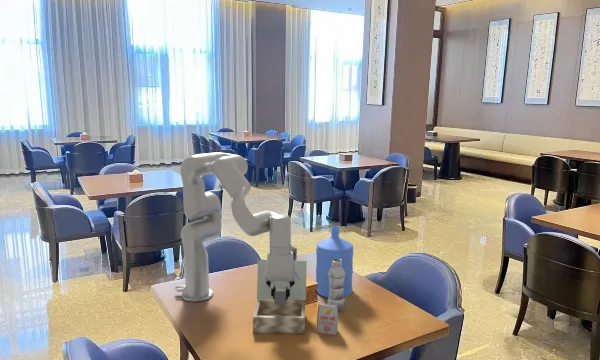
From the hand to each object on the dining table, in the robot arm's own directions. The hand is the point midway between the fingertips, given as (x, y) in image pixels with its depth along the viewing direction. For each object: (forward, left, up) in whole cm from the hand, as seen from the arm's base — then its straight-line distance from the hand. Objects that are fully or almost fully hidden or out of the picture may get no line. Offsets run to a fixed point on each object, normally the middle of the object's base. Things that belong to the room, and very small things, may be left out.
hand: (280, 297), depth 162 cm
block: (0, 0, -2) cm, 2 cm away
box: (0, 0, -10) cm, 10 cm away
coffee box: (0, +37, -10) cm, 39 cm away
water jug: (+21, +30, -10) cm, 38 cm away
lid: (0, +10, +3) cm, 10 cm away
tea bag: (+17, -5, -10) cm, 20 cm away
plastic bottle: (+21, +13, -10) cm, 27 cm away
